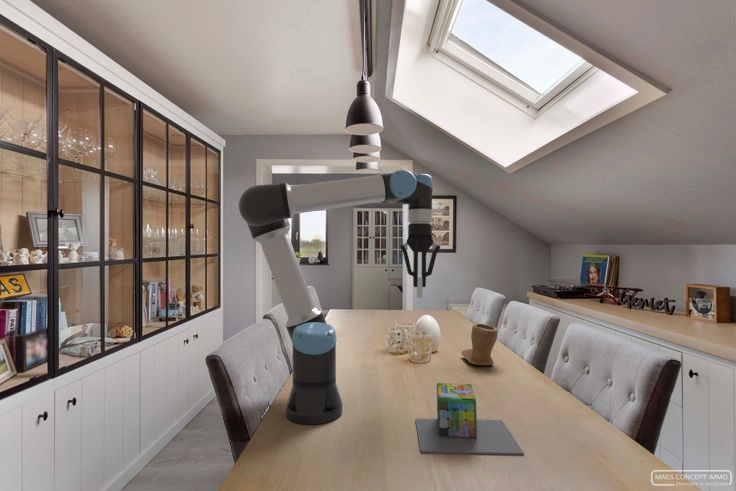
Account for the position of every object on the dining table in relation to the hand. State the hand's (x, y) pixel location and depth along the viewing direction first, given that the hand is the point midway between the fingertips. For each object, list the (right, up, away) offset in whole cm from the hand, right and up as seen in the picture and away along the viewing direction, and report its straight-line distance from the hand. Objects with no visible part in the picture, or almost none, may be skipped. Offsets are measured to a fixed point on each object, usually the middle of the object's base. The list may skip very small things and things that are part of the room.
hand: (419, 297), depth 129 cm
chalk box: (+6, -24, -23) cm, 34 cm away
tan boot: (+28, -29, +30) cm, 50 cm away
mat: (+7, -29, -33) cm, 44 cm away
